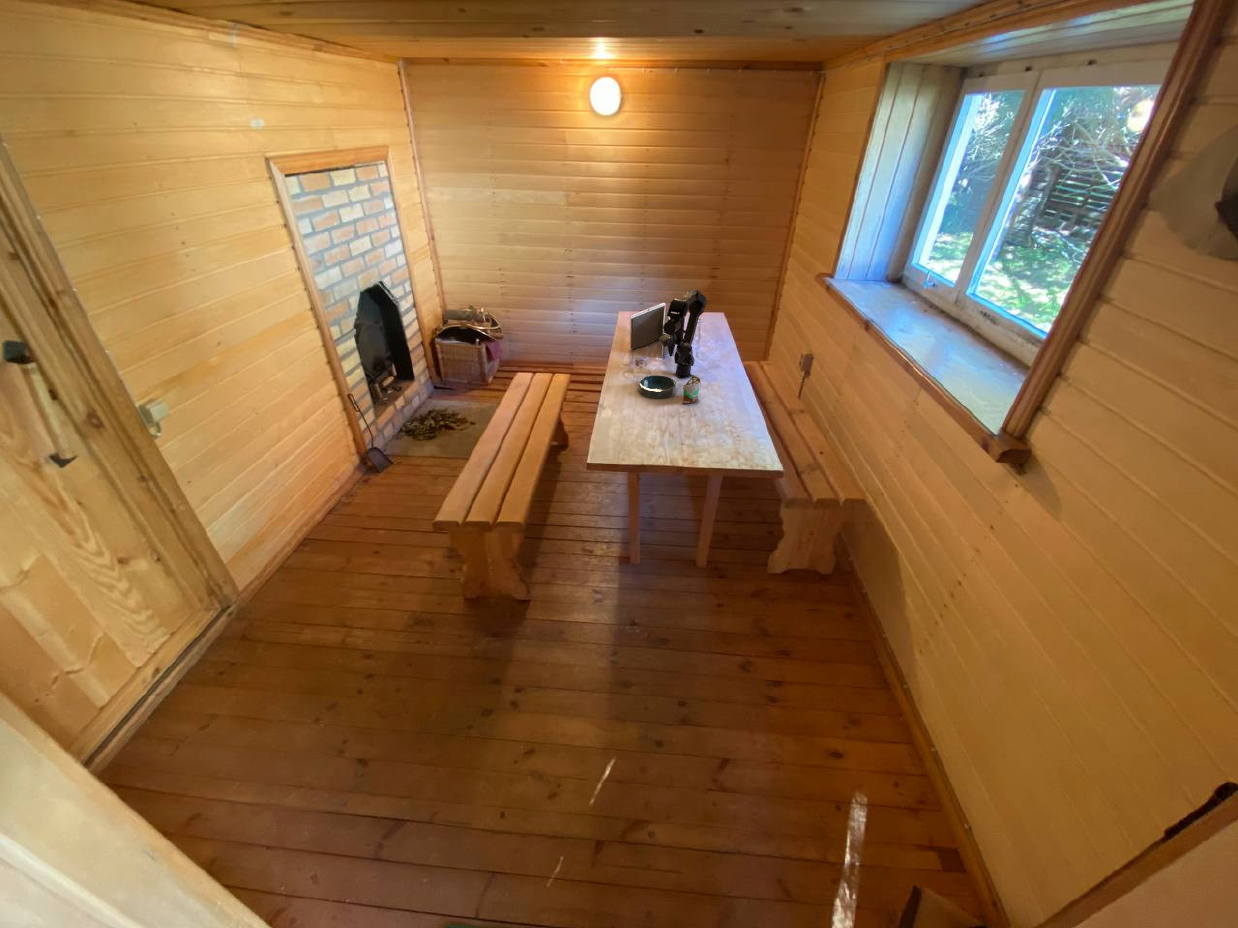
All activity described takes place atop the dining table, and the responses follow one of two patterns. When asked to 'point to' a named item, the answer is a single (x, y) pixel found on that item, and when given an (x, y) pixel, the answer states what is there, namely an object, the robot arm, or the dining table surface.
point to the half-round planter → (691, 390)
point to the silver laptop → (648, 326)
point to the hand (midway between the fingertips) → (675, 360)
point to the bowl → (657, 386)
